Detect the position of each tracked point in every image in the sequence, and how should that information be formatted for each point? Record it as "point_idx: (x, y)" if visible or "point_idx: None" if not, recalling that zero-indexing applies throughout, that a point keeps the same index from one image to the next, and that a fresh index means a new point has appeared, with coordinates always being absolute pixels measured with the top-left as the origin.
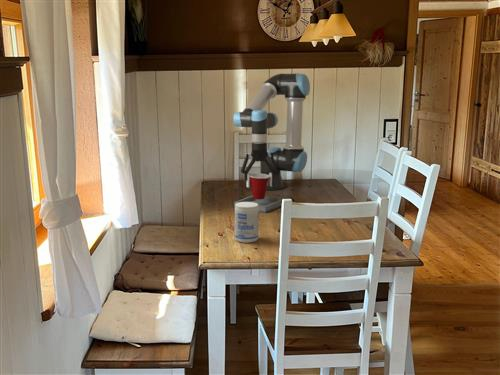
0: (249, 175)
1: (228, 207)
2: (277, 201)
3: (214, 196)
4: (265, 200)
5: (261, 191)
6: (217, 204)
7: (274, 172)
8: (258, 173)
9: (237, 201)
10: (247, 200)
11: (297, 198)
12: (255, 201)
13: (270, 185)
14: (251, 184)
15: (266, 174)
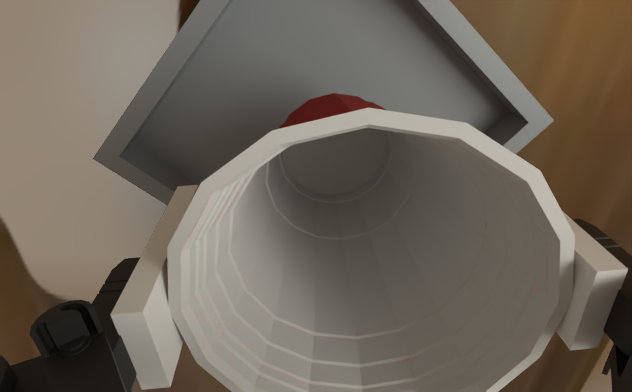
0: (571, 266)
1: (560, 130)
2: (156, 86)
3: (535, 381)
4: None
5: (326, 102)
6: (597, 220)
7: (37, 320)
8: None
9: (518, 139)
10: None
11: (17, 307)
12: None
13: (194, 190)
14: (463, 190)
15: (224, 376)
